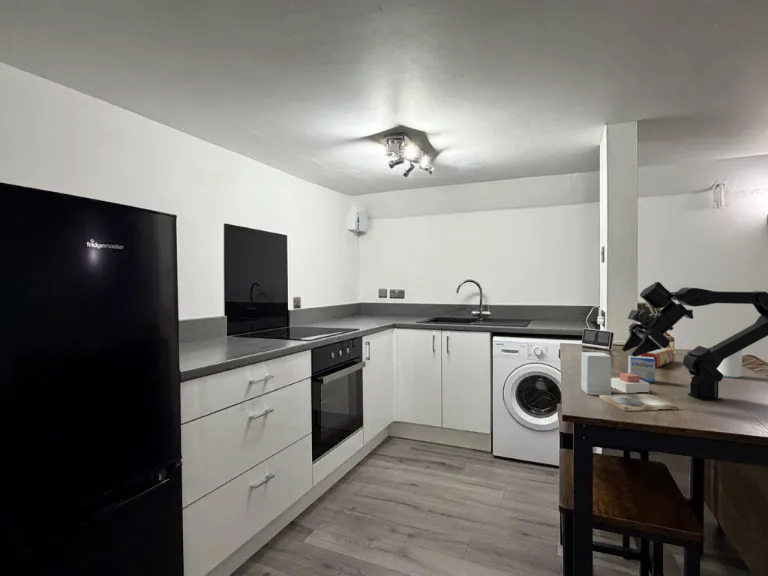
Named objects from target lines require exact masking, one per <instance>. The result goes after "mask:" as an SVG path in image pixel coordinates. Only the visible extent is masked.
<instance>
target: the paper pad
mask: <svg viewBox="0 0 768 576" xmlns="http://www.w3.org/2000/svg"><path fill="white" fill-rule="evenodd" d="M598 396H599V397H598V399H599V398H600V399H599V400H601V399H602V401H603V400H604V401H603V402H605V401H606V402H605V403H607V402H608V403H607V404H609V403H610V405H611V404H612V406H613V407H616V408H617V409H620V410H622V411H623V412H630V411H633V412H634V411H659V410H658V409H672V410H678V408H679V407H678V406H679V405H676V404H674V403H672V402H670V401H667V400H664V399H662V398H659V397H657V396H654V395H651V394H649V393H627V394H611V395H598Z"/></svg>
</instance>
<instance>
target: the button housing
mask: <svg viewBox="0 0 768 576" xmlns="http://www.w3.org/2000/svg"><path fill="white" fill-rule="evenodd" d="M611 388H613V389H615V388H616V389H615V390H618V391H619V392H623V393H624V392H625V393H624V394H638V393H637V392H648V393H650V382H644V381H642V380H639V382H629V383H627V382H625V381H622V380H620V377H611Z"/></svg>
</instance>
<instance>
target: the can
mask: <svg viewBox="0 0 768 576" xmlns="http://www.w3.org/2000/svg"><path fill="white" fill-rule="evenodd" d="M742 363H743V349H742V350H740V351H738V352H736V353H735V354H733V355H731V356H729V357H727V358H725V359H724V360H723V361H722V362H721V364H720V365H719V367H718V368H716V369H717V370H718V371H720V372H721V373H722V374H723V378H728V379H739V378H741V377H742V372H743V371H742V368H743V364H742Z"/></svg>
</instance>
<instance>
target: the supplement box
mask: <svg viewBox="0 0 768 576" xmlns="http://www.w3.org/2000/svg"><path fill="white" fill-rule="evenodd" d="M580 362H581V364H580V365H581V367H580V368H581V369H580V370H581V374H580V375H581V377H580V379H581V380H580V383H581V384H580V385H581V386H580V387H581V388H580V389H581V390H582V391H583V392H585V394H586V395H593V396H599V395H612V387H611V378H612V356H611V355H609V354H607V353H605V352H596V351H595V352H593V351H591V352H590V351H589V352H588V351H587V352H586V351H584V352H583V351H582V352H581V361H580Z"/></svg>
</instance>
